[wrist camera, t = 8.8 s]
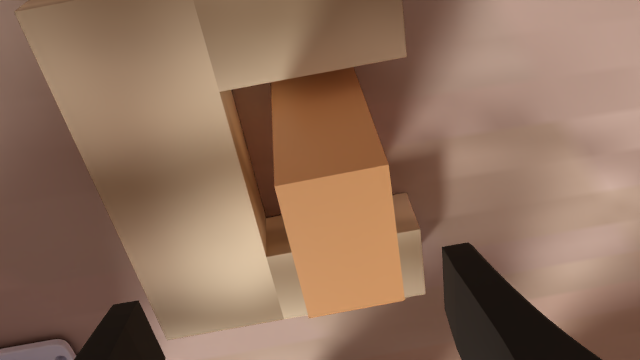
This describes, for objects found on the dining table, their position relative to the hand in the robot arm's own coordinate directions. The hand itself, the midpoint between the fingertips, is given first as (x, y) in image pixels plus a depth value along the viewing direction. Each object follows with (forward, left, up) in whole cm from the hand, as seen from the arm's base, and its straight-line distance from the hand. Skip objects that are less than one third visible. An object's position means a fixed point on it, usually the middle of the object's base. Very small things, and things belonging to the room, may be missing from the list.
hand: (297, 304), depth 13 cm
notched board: (-1, +1, -10) cm, 10 cm away
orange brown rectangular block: (-1, -1, -10) cm, 10 cm away
